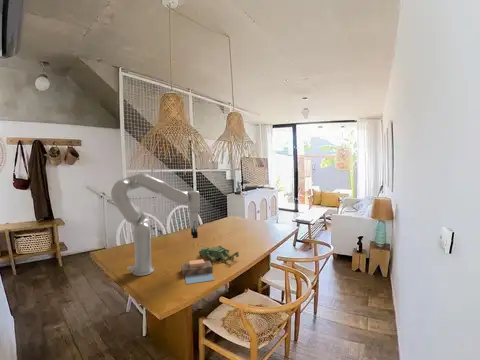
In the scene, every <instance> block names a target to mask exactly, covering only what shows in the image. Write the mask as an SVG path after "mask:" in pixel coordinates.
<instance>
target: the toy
mask: <svg viewBox="0 0 480 360" xmlns="http://www.w3.org/2000/svg"><path fill="white" fill-rule="evenodd" d="M198 254H199V256H201V258H206V257H207V259H210V262H212V263H213V262H216V261H217V260H219V259H221V260H222V261H223V262H224V263H226V262H228V261H229V260H231V261H234V260H235V257H236V258H238V257H240V255H239V251H236V252H235V253H232V254H231V255H230V249H226V248H224V247H223V246H222V245H218V246H213V247H210V248H209V247H207V246H205V247H202V248H201V249H200V250H198ZM226 257H227V258H226Z"/></svg>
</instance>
